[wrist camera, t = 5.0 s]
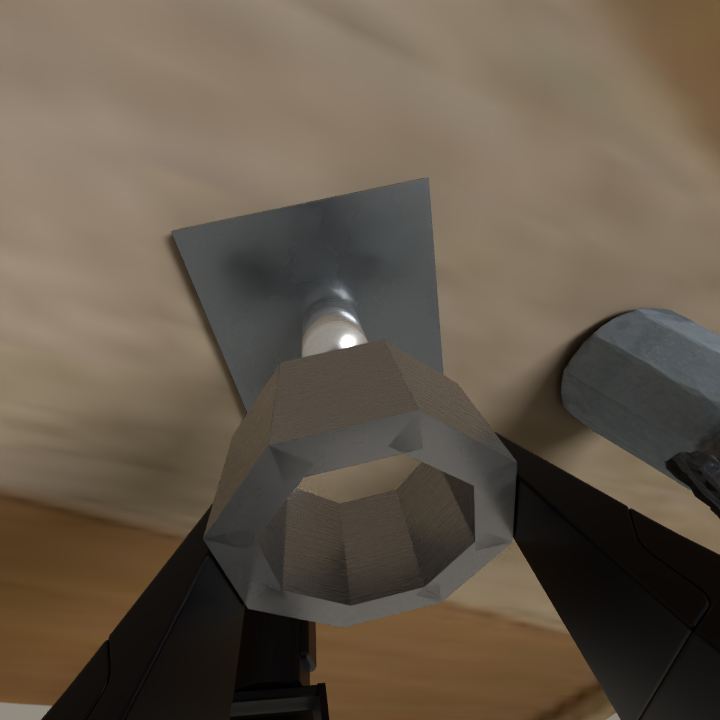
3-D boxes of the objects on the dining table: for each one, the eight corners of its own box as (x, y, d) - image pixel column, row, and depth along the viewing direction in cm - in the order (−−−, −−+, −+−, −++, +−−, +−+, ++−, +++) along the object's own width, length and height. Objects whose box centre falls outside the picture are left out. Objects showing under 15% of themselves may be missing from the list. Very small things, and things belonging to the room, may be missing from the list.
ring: (280, 537, 11) (272, 645, 9) (205, 378, 8) (158, 470, 6) (463, 492, 12) (509, 584, 9) (455, 322, 9) (521, 385, 6)
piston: (257, 428, 21) (245, 491, 17) (175, 229, 16) (125, 246, 11) (441, 385, 22) (475, 435, 18) (424, 177, 16) (468, 174, 12)
